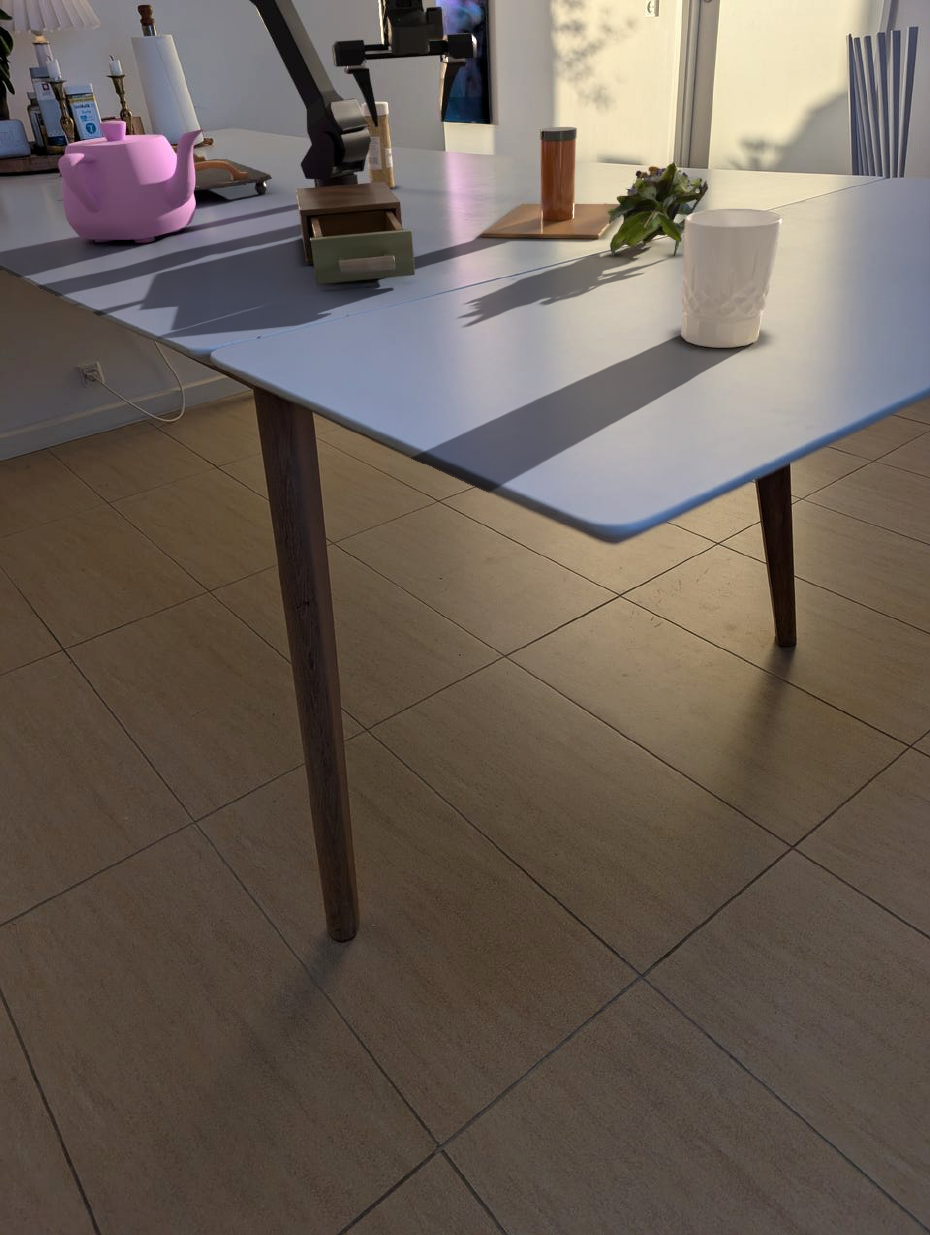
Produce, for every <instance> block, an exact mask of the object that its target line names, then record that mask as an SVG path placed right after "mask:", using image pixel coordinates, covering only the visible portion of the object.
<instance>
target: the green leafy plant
mask: <svg viewBox="0 0 930 1235" xmlns="http://www.w3.org/2000/svg"><path fill="white" fill-rule="evenodd" d="M647 170H648V172H647V171H642V170H637V171H636V172H635V177H636V179H635V180H634V182H633V183H632V185H631V186H630V187H629V188H624V189H625V190H627V192H626V194H627V195H622V194H621V195H618V196H616V201H617V202H618V204H620V205H619V206H618V207H616V208H613V209H608V214H609V215H611V216H610V218H609V224H611V222H612V221H613V222H614V221H615V220H616V219H617V218H620V217H623V218H622V220H623V221H622V223H621V225H620V226H619V228H618V230H617V232H616V233H615V234H614V235H613V237H612V239H611V241H610V243H609V248H610V249H609V250H610V252H611V254H612V256H615V254H616V251H618V250H619V249H620V248H622V247H624V246H628V247H629V248H630V247H635V245H638V244H639V243H641V242H642V243H644V244H647V243H651V242H652V241H653V240H654V238H656V237H658V236H667V237H669V238H670V239H672V240H674V241H675V244H674V249H673V250H674V251H673V255H672V256H673V257H675V256H676V255H677V251H678V248H679V246H680V243H681V242H682V241H683V239H682V235H683V233H684V221H685V218H683V219H682V221H680V222H676V221H675V219H676V217H677V216H678V215H680V216H687V215H689V214H692V213H694V211H695V209H696V207H697V206H698V205H699V203H700V202H701V200H702V198H703V197H704V196H705V195H706V193H707V191H708V190H709V185H708V181H707V179H706V180H705V181H704V183H703V185H702V182H703V178H702V177H698V178H696V179H694V180H690V179H689V175H688V174H686V172H684V171H683V172H682V170H681V169H679V170H678V165H677V164H676V162H675V161H672V163H669V164H668V165H666V167H662V168H661V167H658V166H653V165H651V166H649V167H648V168H647ZM690 186H691V187H692V189H690V190H689V189H688V187H690ZM697 189H698V190H699V191H698V190H697ZM693 201H695V202H694V203H693V205H692V206H691V205H690V204H689V203H690V202H693ZM613 222H612V223H613ZM611 225H612V224H611Z"/></svg>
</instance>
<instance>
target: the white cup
mask: <svg viewBox="0 0 930 1235" xmlns="http://www.w3.org/2000/svg"><path fill="white" fill-rule="evenodd" d="M684 219H685V221H684V231H683V246H682V248H683V250H682V268H681V306H682V312H681V326H680V328H681V329H680V336H681V338H682V339H683V340H684V341H686V342H687V343H689V344H693V345H696V346H699V347H707V348H719V349H720V348H721V349H722V348H725V349H726V348H737V347H743V346H748V345H750V344H752V343H755V342H757V341H758V339H759V334H760V330H761V324H762V319H763V315H764V310H765V309H766V305H767V299H768V294H769V292H770V286H771V280H772V279H771V278H772V275H773V272H774V267H775V261H776V254H777V249H778V242H779V238H780V232H781V228H782V222H783V217H782V215H780V214H778V213H777V212H773V211H769V210H763V209H751V208H717V209H707V210H701V211H696V212H692V214H689V215H685V217H684Z"/></svg>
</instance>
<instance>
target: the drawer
mask: <svg viewBox="0 0 930 1235" xmlns="http://www.w3.org/2000/svg"><path fill="white" fill-rule="evenodd" d="M310 219H311V226H312V233H313V238H310V241H311V248H312V255H313V263H314V265H313V269H314V277H315V283H316V285H325V284H336V283H348V282H357V281H358V282H359V281H366V280H377V279H387V278H399V277H409V276H415V275H416V273H415V272H416V271H415V257H414V246H413V244H414V243H413V231H412V230H411V229H409V228H408V229H404V227H403V225H402V226H401V225H400V223H399V222H398V220H397V219H396V217H395V216H394V215H393V213H392V212H391V210H390V209H381V210H369V211H357V212H345V213H334V214H322V215H310Z"/></svg>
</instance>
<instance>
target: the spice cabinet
mask: <svg viewBox="0 0 930 1235" xmlns="http://www.w3.org/2000/svg"><path fill="white" fill-rule="evenodd" d="M391 189H392V188H389V187H388V186H387V184H386V183H385V182H376V183H370V182H364V183H363V182H362V183H358V184H351V185H339V186H326V187H315V186H314V187H304V188H303V187H302V188H295V195H296V201H297V209H298V215H299V223H300V229H301V237H302V243H303V249H304V254H305V259H306V264H307V266H312V265H313V266H314V263H313V255H312V248H311V241H310V238H313V233H312V226H311V219H310V215H322V214H334V213H345V212H357V211H369V210H381V209H390V210H391V212H392V213H393V215H394V216H395V217H396V219H397V220H398V222H399V223H400V225H401V226H402V227H403V219H402V208H401V206H402V205H401V201H400V200H399V198H398V196H396V194H395V193H394V192H393V190H391Z"/></svg>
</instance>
